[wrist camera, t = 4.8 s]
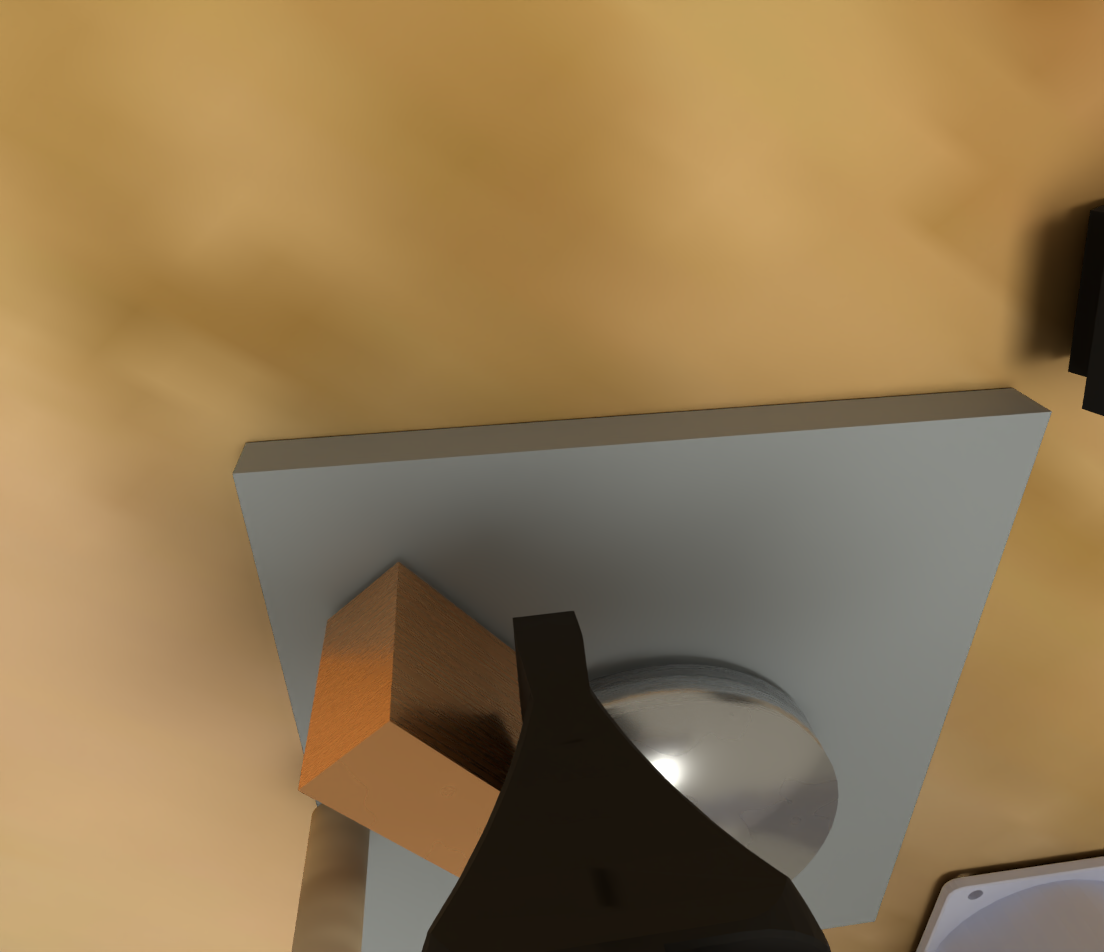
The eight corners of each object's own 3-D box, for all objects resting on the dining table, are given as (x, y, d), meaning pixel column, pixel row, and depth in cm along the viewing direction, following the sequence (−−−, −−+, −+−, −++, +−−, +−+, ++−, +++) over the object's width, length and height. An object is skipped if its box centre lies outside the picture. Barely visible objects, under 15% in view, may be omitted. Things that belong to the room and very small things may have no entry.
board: (1013, 387, 17) (1052, 411, 16) (857, 885, 26) (874, 921, 25) (246, 442, 15) (232, 474, 14) (368, 957, 24) (365, 998, 23)
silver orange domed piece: (876, 781, 20) (966, 933, 17) (614, 941, 23) (647, 1103, 19) (535, 449, 14) (568, 585, 11) (212, 715, 16) (153, 900, 13)
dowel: (367, 795, 18) (353, 958, 15) (374, 831, 19) (363, 995, 16) (307, 801, 18) (280, 969, 15) (317, 839, 19) (293, 1006, 16)
